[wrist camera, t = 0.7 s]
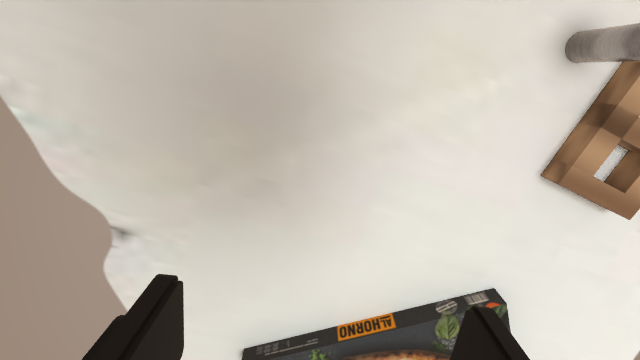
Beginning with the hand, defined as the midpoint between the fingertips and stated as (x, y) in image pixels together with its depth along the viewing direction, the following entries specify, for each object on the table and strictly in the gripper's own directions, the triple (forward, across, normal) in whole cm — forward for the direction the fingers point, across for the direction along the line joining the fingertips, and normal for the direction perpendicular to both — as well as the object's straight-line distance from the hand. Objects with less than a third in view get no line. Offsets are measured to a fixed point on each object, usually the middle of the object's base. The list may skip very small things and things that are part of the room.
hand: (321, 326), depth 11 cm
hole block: (+28, -33, -5) cm, 44 cm away
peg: (+28, -26, -13) cm, 40 cm away
